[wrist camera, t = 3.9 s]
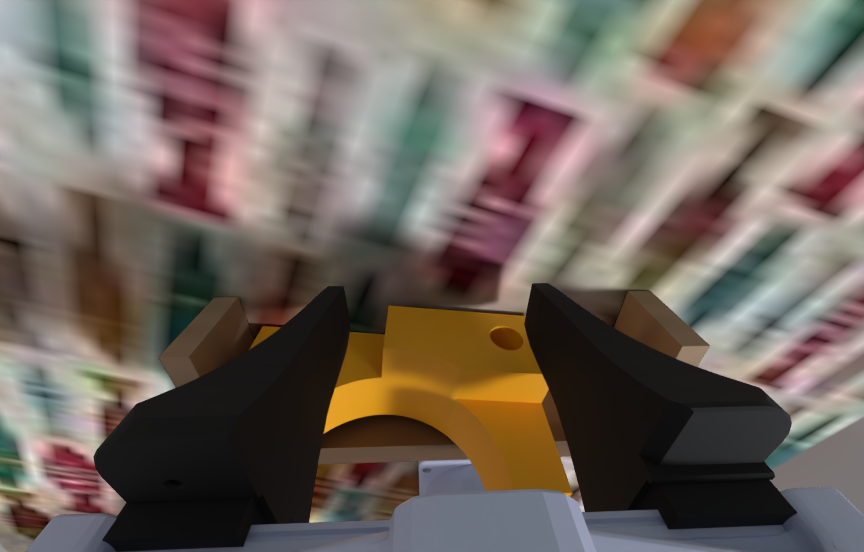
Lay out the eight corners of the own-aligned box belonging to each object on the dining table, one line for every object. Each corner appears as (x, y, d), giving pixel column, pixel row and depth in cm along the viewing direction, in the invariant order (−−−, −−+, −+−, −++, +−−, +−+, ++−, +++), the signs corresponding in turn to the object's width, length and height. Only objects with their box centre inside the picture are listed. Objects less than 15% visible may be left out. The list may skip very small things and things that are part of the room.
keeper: (606, 391, 18) (644, 454, 15) (257, 400, 17) (223, 467, 14) (649, 290, 14) (710, 345, 11) (214, 297, 14) (158, 357, 11)
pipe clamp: (531, 316, 15) (594, 466, 9) (507, 377, 17) (546, 524, 12) (255, 295, 14) (149, 452, 8) (271, 364, 16) (197, 519, 11)
